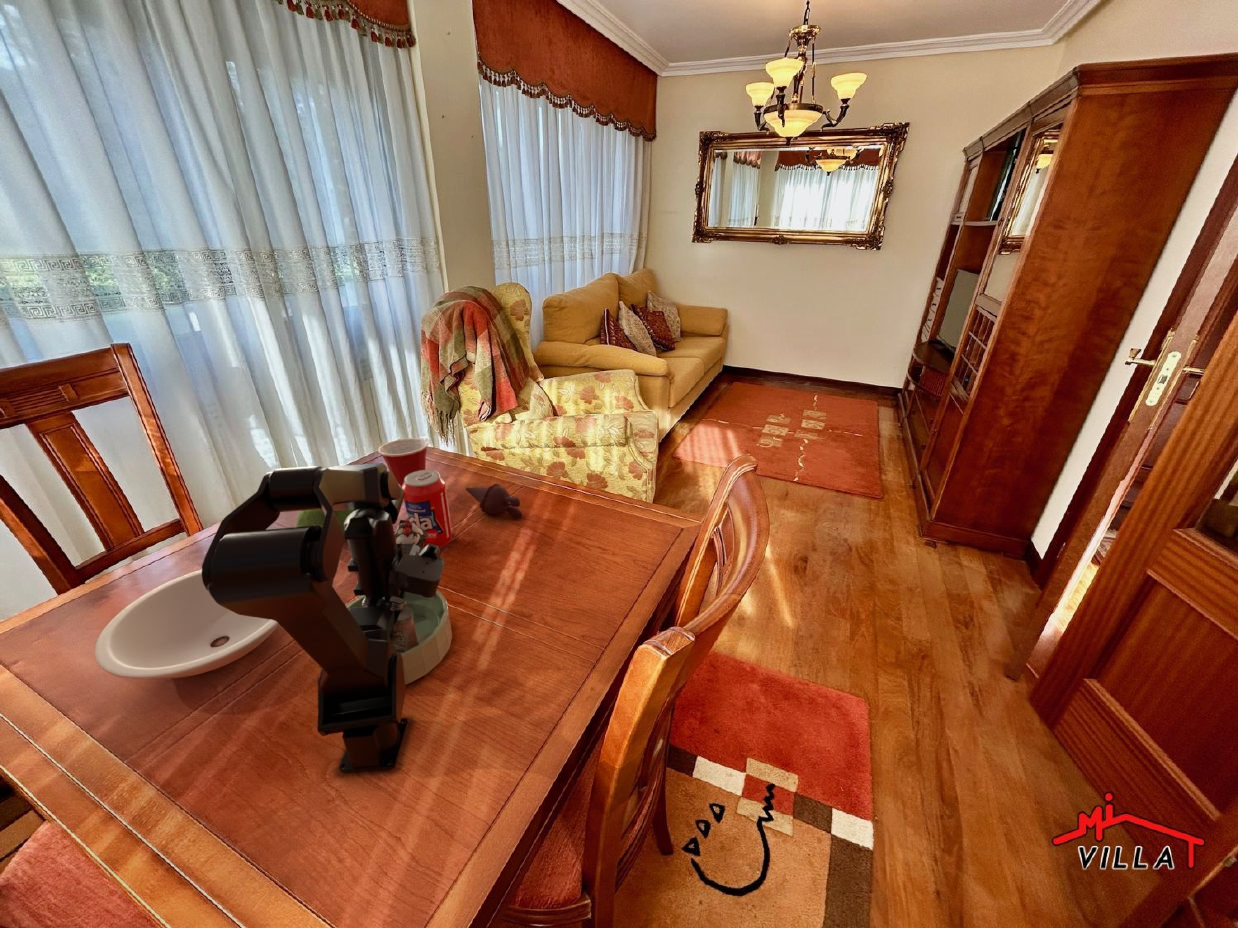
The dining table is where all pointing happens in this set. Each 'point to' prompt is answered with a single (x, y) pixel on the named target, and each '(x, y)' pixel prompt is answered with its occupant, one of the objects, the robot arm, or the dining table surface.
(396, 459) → the plastic cup
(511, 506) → the icecream
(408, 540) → the sundae
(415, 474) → the soda can
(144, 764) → the dining table surface
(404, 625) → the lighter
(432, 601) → the bowl
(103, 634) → the white sink basin
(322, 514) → the fruit
